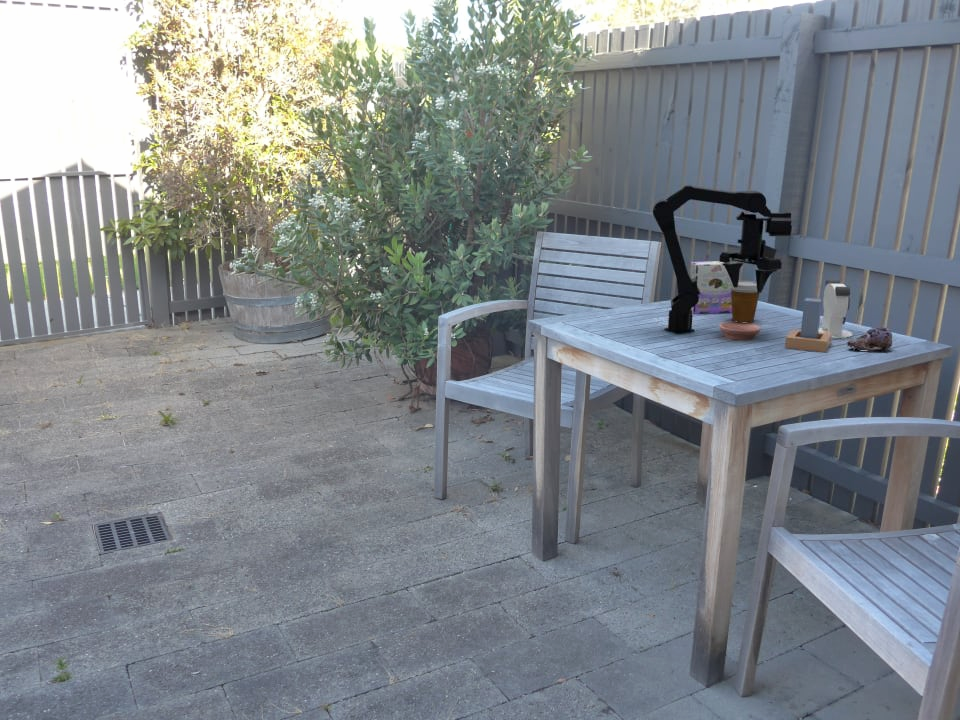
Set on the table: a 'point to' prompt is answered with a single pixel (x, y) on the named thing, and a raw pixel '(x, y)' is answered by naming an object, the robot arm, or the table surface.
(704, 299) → the candy box
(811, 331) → the post
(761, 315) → the table surface
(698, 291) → the robot arm
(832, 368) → the table surface
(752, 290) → the disposable coffee cup
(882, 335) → the skull
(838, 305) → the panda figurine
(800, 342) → the frame
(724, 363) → the table surface
